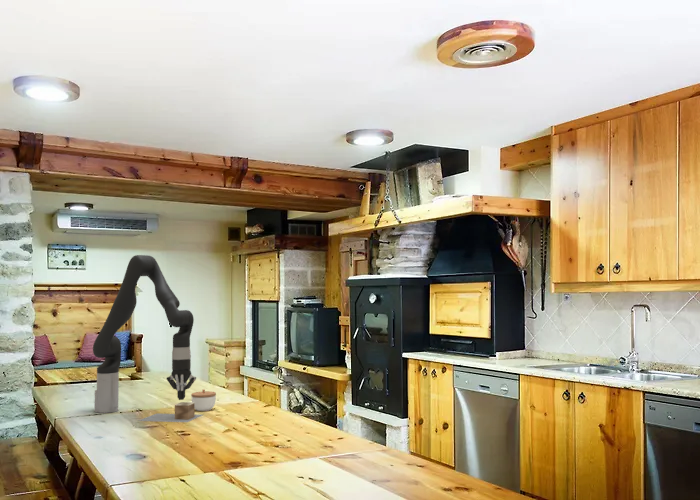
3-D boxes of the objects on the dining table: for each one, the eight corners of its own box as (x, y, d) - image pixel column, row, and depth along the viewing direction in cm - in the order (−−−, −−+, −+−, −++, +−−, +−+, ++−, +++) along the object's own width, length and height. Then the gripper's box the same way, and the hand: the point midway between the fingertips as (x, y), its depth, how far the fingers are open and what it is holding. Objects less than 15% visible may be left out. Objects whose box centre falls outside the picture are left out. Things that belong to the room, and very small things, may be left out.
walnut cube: (188, 404, 271) (188, 419, 270) (194, 402, 277) (194, 416, 276) (174, 404, 272) (174, 419, 272) (181, 402, 278) (181, 416, 277)
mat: (137, 421, 269) (137, 420, 269) (156, 414, 285) (156, 413, 285) (187, 423, 265) (187, 422, 265) (203, 415, 281) (203, 414, 281)
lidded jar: (218, 408, 297) (218, 387, 298) (211, 413, 287) (211, 391, 287) (195, 408, 298) (195, 387, 299) (187, 412, 288) (187, 391, 288)
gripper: (162, 358, 273) (162, 400, 272) (192, 358, 271) (192, 401, 270) (170, 356, 281) (170, 397, 280) (199, 357, 278) (199, 398, 277)
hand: (181, 399), depth 275 cm, fingers closed
